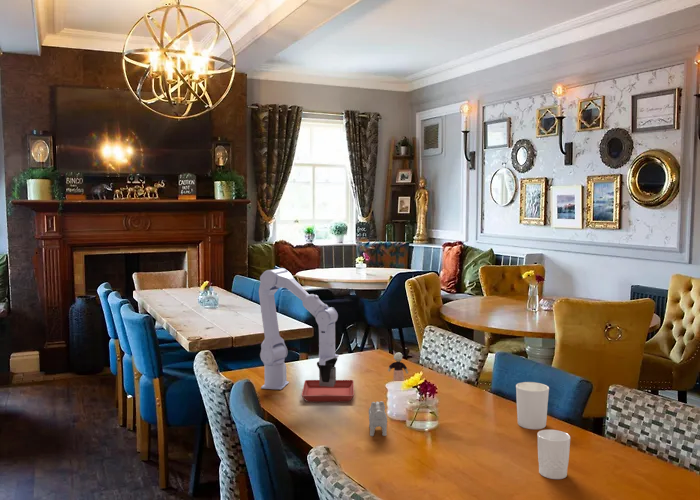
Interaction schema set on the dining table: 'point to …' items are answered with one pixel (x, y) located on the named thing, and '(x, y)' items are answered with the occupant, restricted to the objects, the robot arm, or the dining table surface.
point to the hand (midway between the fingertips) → (327, 380)
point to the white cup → (553, 453)
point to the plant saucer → (328, 391)
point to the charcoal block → (331, 381)
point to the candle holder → (532, 404)
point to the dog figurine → (377, 417)
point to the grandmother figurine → (398, 367)
